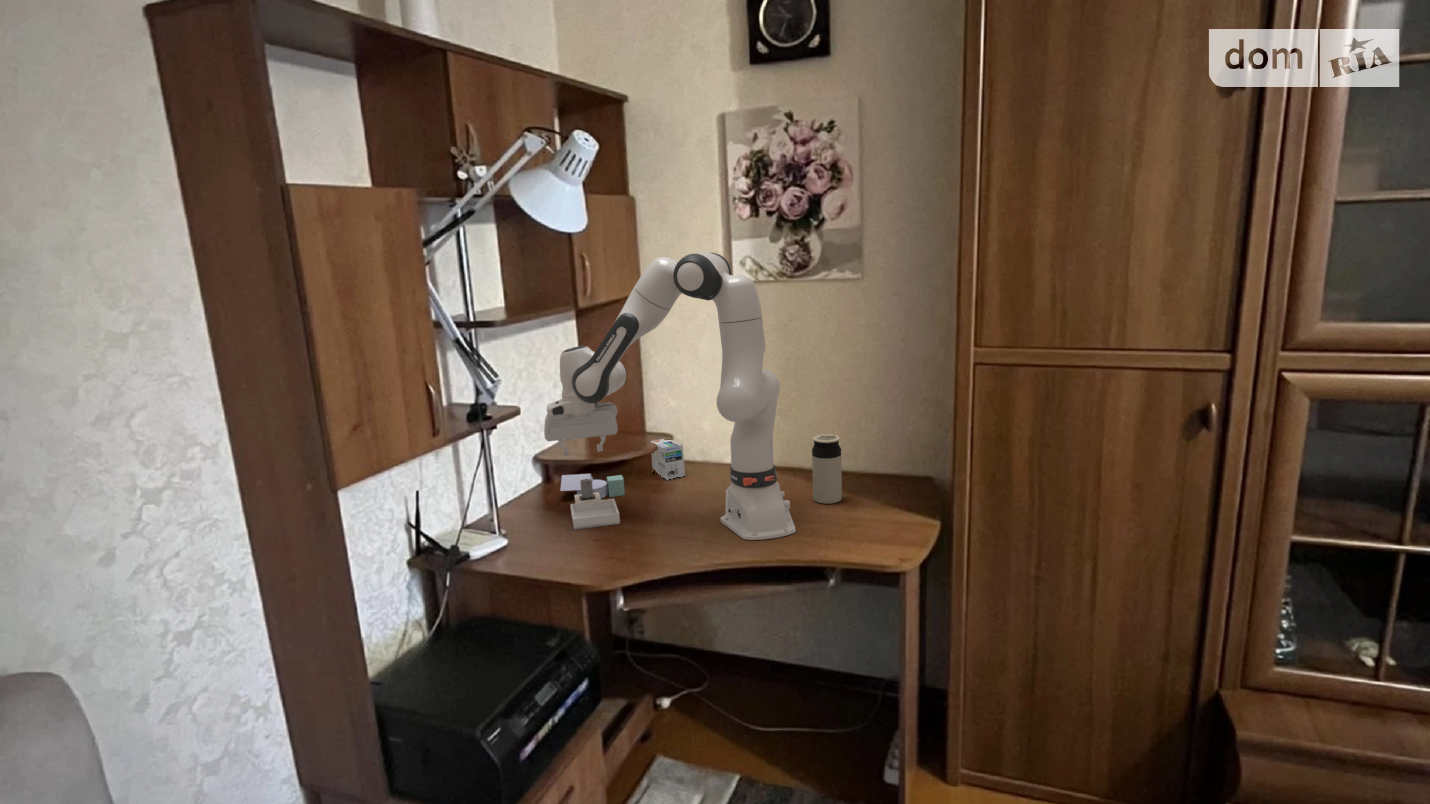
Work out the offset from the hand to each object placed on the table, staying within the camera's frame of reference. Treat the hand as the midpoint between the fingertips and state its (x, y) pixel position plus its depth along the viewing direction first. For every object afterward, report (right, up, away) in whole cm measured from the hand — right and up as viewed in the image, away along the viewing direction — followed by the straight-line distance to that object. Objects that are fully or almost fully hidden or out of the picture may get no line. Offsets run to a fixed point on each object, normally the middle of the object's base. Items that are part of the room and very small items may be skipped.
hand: (583, 452), depth 217 cm
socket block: (+1, -16, +3) cm, 16 cm away
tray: (+4, -18, -6) cm, 19 cm away
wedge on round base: (-2, -14, +14) cm, 20 cm away
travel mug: (+69, -13, 0) cm, 70 cm away
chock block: (+8, -13, +14) cm, 21 cm away
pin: (+1, -16, +3) cm, 16 cm away
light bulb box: (+22, -9, +29) cm, 38 cm away
